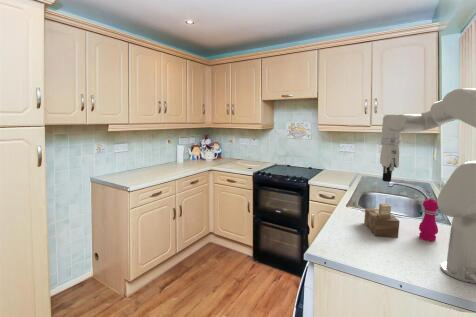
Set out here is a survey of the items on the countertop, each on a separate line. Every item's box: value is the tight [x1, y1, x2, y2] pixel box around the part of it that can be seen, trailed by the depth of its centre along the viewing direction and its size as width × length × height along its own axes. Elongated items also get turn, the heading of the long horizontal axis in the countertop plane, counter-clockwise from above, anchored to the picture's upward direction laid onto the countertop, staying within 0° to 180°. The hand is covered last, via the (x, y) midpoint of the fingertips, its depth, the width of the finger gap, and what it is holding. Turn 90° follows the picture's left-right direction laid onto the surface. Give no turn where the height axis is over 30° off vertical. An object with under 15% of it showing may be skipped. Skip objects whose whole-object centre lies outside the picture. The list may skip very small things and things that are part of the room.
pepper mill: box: [418, 195, 440, 242], centre depth 124 cm, size 7×7×20 cm
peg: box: [378, 202, 392, 219], centre depth 130 cm, size 4×4×8 cm
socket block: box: [363, 208, 400, 238], centre depth 134 cm, size 16×10×8 cm, turn 172°
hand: (386, 181), depth 128 cm, fingers closed
